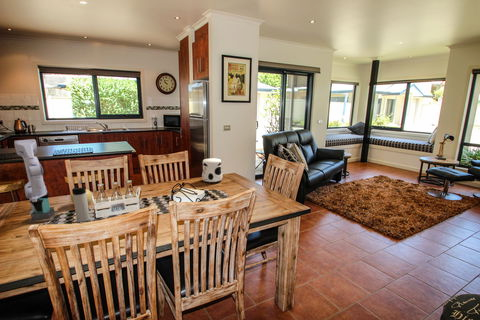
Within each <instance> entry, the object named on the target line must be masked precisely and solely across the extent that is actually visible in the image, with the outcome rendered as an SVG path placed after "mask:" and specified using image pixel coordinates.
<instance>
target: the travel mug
mask: <svg viewBox="0 0 480 320" xmlns="http://www.w3.org/2000/svg"><path fill="white" fill-rule="evenodd" d="M86 189H87V188H86V187H85V186H81V187H73V188H72V189H71V190H72V191H71V192H72V194H73V199H74V204H73V205H74V212H75V219H76V223H77V224H81V223H80V222H86V223H88V222H90V221H91V218H90V211H89V204H88V202H87V195H86Z"/></svg>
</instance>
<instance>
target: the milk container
mask: <svg viewBox="0 0 480 320" xmlns="http://www.w3.org/2000/svg"><path fill="white" fill-rule="evenodd" d="M223 177H224V176H223V171H222V160H221V159H220V158H212V157H211V158H204V159H203V160H202V173H201V178H202V181H203V182H206V183H210V184H211V183H212V184H213V183H218V182H221V181H222V180H223Z"/></svg>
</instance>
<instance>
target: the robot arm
mask: <svg viewBox="0 0 480 320" xmlns="http://www.w3.org/2000/svg"><path fill="white" fill-rule="evenodd" d="M13 142H14V149H15V151H16V154H17V156H19V157H22V159H23V162H24V166H25V171H26V175H27V179H28V182H27V183H26V184H25V185H24V187H23V188H24V193H25V197H26V198H27V199H29V202H30V209H31V210H30V211H29V212H28V214H30V215H31V214H32V213H33V212H34V207H35V209H36V211H37V212H41V211H42V203H43V200H40V199H39V198H48V199H49V197H50V193H48V190H47V186H46V185H45V184H46V183H45V181H44V177H43V175H44V169H43V166H42V164H41V163H40V161H39V158H38V157H37V156H35V155H36V154H37V150H38V145H37V140H36V139H34V138H31V139H23V140H22V139H19V140H14V141H13Z"/></svg>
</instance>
